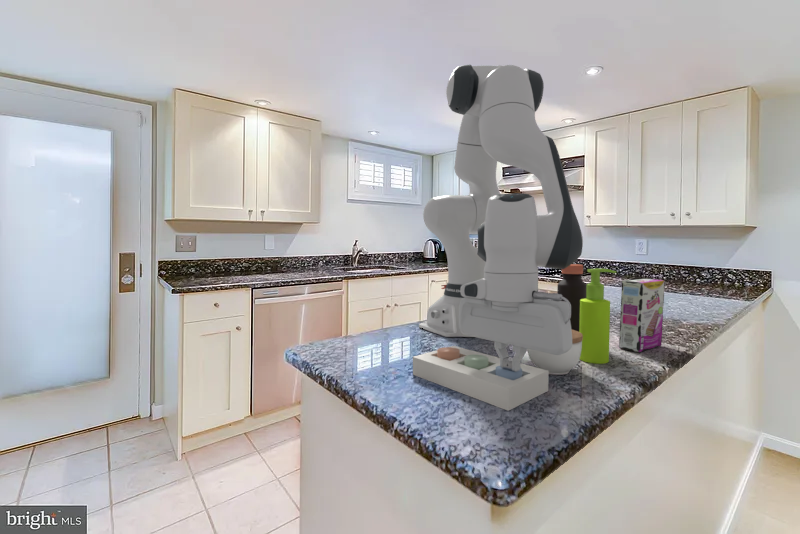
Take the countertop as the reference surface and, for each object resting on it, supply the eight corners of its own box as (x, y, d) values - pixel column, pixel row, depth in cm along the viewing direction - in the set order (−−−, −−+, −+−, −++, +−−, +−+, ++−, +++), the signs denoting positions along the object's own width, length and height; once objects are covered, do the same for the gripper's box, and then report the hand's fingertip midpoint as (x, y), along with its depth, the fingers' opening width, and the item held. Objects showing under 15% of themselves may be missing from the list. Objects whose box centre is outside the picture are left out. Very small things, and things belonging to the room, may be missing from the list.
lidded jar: (539, 380, 73) (539, 331, 72) (517, 362, 84) (517, 319, 83) (593, 378, 74) (594, 329, 73) (565, 360, 85) (565, 318, 84)
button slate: (490, 385, 67) (490, 368, 67) (505, 379, 70) (505, 363, 70) (512, 393, 64) (512, 375, 64) (527, 386, 67) (527, 369, 67)
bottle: (587, 342, 100) (588, 264, 98) (584, 348, 94) (585, 265, 92) (558, 338, 103) (559, 263, 102) (554, 345, 97) (555, 265, 96)
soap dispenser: (618, 364, 81) (620, 269, 80) (582, 363, 83) (584, 269, 81) (609, 356, 87) (611, 267, 86) (576, 355, 89) (577, 267, 87)
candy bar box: (640, 353, 89) (642, 282, 88) (618, 348, 93) (620, 280, 92) (663, 346, 95) (665, 279, 94) (641, 341, 99) (643, 277, 98)
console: (412, 374, 77) (412, 356, 77) (453, 361, 85) (453, 345, 84) (508, 410, 60) (508, 388, 60) (548, 390, 68) (548, 370, 68)
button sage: (459, 373, 73) (459, 357, 72) (474, 368, 75) (474, 353, 75) (478, 379, 69) (478, 363, 69) (493, 374, 72) (493, 358, 72)
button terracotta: (432, 364, 78) (432, 350, 78) (447, 360, 81) (447, 346, 81) (449, 370, 75) (449, 354, 74) (464, 365, 77) (464, 350, 77)
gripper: (580, 292, 60) (579, 380, 61) (475, 283, 75) (475, 353, 76) (560, 296, 56) (559, 390, 57) (453, 286, 71) (453, 360, 72)
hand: (510, 369), depth 67 cm, fingers closed, pressing on button slate
